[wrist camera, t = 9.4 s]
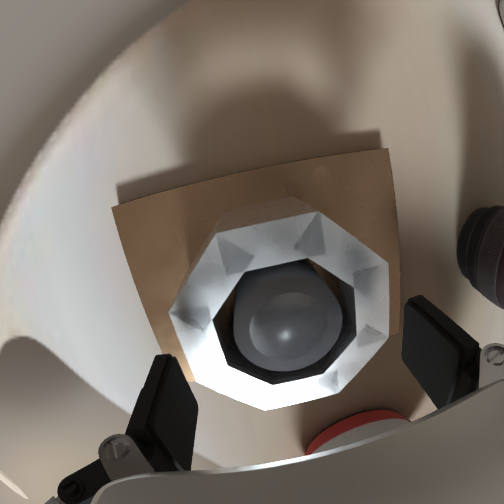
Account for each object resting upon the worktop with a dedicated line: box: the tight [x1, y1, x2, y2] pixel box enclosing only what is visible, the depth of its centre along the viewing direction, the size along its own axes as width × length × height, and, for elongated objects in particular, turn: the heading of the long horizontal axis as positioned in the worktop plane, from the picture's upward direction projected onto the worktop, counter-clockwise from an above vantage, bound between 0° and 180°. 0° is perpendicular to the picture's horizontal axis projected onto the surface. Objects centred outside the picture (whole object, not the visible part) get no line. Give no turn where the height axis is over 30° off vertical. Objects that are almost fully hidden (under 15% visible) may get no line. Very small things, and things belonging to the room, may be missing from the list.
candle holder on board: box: [111, 148, 400, 410], centre depth 16 cm, size 18×14×7 cm
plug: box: [234, 258, 342, 371], centre depth 16 cm, size 5×5×6 cm
